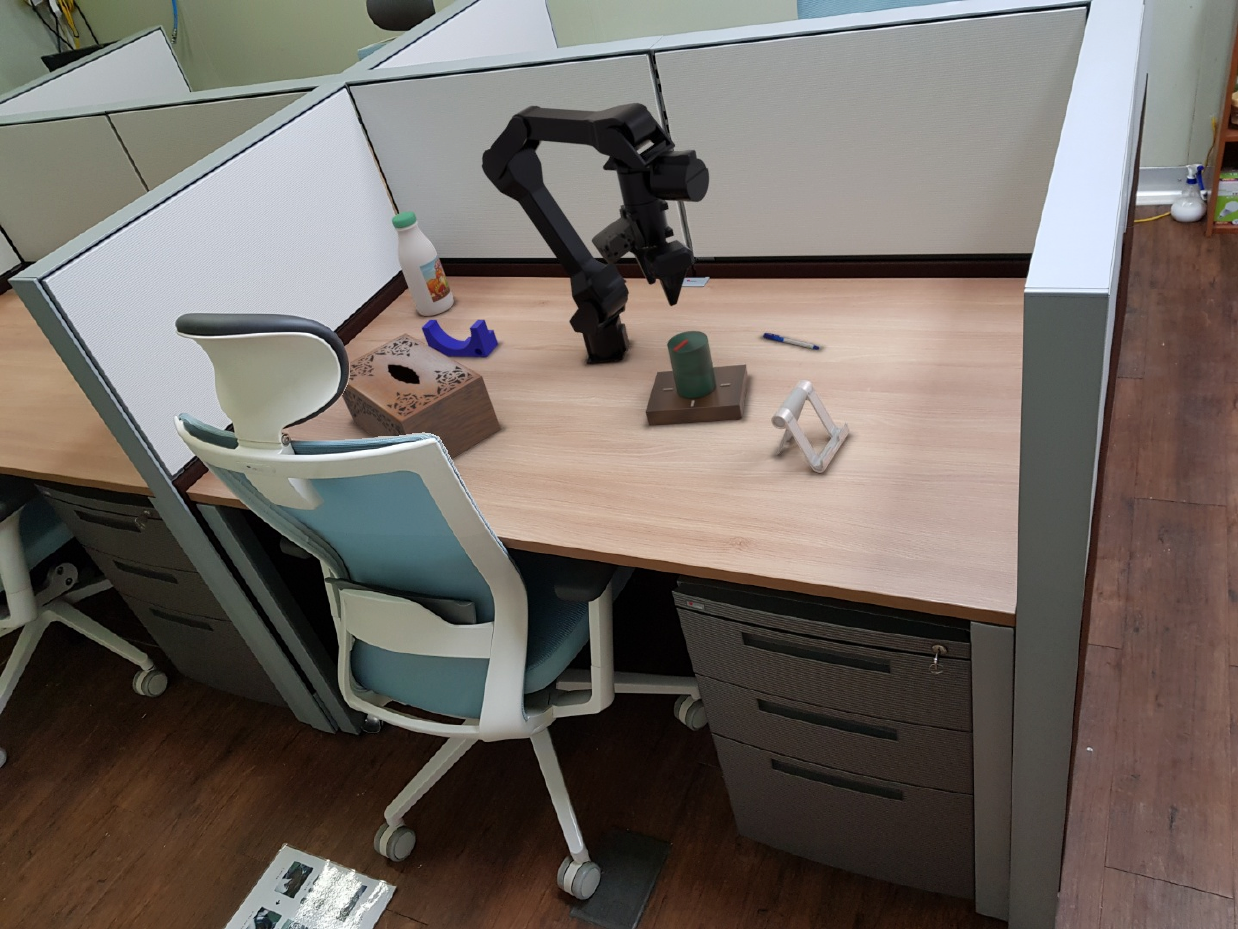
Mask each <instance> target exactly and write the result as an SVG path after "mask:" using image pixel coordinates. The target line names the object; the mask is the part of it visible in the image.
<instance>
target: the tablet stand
mask: <svg viewBox="0 0 1238 929" xmlns="http://www.w3.org/2000/svg"><path fill="white" fill-rule="evenodd" d="M806 401H808V402H809V403H810V404H811V406H812V408H813V410H814V412H815V414H816V415H817V417H818V418H819V420H820V422H821V424H822V425H823V427H824V429H825V431H826V432H827V434H828V436H829V437H830V440H829V441H828V443H827V444H826V446H825V447H824V449H823V450H822V452H821V454H820V455H818V453H816V452H815V450H814V448H813V446H812V445H811V443H810V441H809V440H808V438H807V436H806V434H805V433H804V431H803V429H802V428H801V426H800V424H799V423H798V421H799V420H800V416H801V414H802V411H803V409H804V406H805V403H806ZM770 421H771V424H772V426H773V427H774V428H775V429H778V430H784V433H783V436H782V438H781V441H780V443H779V446H778V449H777V452H776V455H778V456H779V455H780V453H781V452H782V451H783V448H784V446H785V444H786V442H789V441H790V439H791V438H792V437H793V439H794V440H795V443H796V444H797V446H798V447H799V449H800V451H801V453H802V454H803V456H804V458H805V459H806V461H807V463H808V464H809V466H810V468H811V469H812V470H813V471H814V472H815V473H818V474H820V473H821V474H822V473H824V472H825V471H826V469H827V467H828V465H830V463H831V462H832V459H833V458H834V457H835V455H836V454H837V452H838V450H839V449H840V447H841V445H842V444H843V442H845V440H846V438H847V436H848V435H849V433H850V428H849V424H848V423H847V422H844V423H843V425H842V427H840V428H838V426H837V425H836V424H835V422H834V421H833V418H832V417H831V415H830V413H829V412H828V410H827V408H826V407H825V404H824V403H823V401H822V400H821V398H820V396H819V394H818V393H817V391H816V389H815V388H814V386H813V384H812V383H811V382H810V381H809V380H807V379H800V380H798V382H797V383H796V385H795V386H794V387H793V389H792V390H791V391H790V393H789V394H788V395H787V397H786V398H785V400H783V402H782V403H781V404H780V406H779V407H778V409H777V411H775V413H774V414H773V416H772V417H771V419H770Z"/></svg>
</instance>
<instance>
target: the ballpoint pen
mask: <svg viewBox="0 0 1238 929" xmlns="http://www.w3.org/2000/svg"><path fill="white" fill-rule="evenodd" d="M762 337H763V338H764V339H767V340H771V341H776V342H781V343H786V344H790V345H793V346H794V345H795V346H799V347H803V348H807V349H812V350H819V349H820V347H819V345H817V344H816V345H815V344H812V343H807V342H804V341H799V340H794V339H789V338H786V337H782V336H780V335H779V334H775V333H770V332H764V333H763V334H762Z"/></svg>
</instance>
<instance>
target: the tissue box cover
mask: <svg viewBox="0 0 1238 929" xmlns="http://www.w3.org/2000/svg"><path fill="white" fill-rule="evenodd" d="M349 363H350V378H349V382H348V385H347V387H346V389H345V391H344V393H343V395H341V397H342V399H343V401H344V403H345V406H346V408H347V410H348V412H349V414H350V416H351V418H352V421H353V422H354V424H357V425H358V426H359V427H361V428H362V429H363V430H364V431H365V432H367V433H368V434H369V435H370V436H372V437H373V438H375V437H378V436H399V435H406V434H412V433H422V432H425V433H431V434H434V435H436V436H439V437H440V439H441V440H442V443H443V444H444V446H445V447H446V449H447V450H448V454H449V455H450V457H451V458H452V459H454V458H455V457H457V456H459V455H460V454H462V453H463V452H466V451H467V450H468V449H470V448H472V447H474V446H475V445H477V444H479V443H480V442H482V441H484V440H485V439H487V438H489V437H491V436H492V435H493V434H495V433H497V432H498V431H500V430H502V429H501V425H500V422H499V419H498V417H497V415H496V414H497V413H496V410H495V408H494V406H493V403H492V400H491V397H490V393H489V391H488V388H487V386H486V383H485V380H484V378H483V375H481V374H480V373H478V372H476V371H475V370H472V369H471V368H470V367H469V368H468V367H467V366H465V365H464V364H462V363H460V362H458V361H457V360H454V359H453V358H451V357H450V356H446V355H444V354H442V353H440V352H438V351H437V350H435V349H433V348H431V347H430V346H428V344H427V343H424V342H422V341H421V340H419V339H417V338H415V337H413V336H411V335H410V334H408V333H406V332H405V333H403V334H401V335H399V336H397V337H395V338H393V339H392V340H389V341H388V342H385V343H384V344H381V345H380V346H378V347H376V348H374V349H373V350H370V351H368V352H367V353H364V354H363V355H361V356H359V357H356V359H354V360H352V361H349Z"/></svg>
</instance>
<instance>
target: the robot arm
mask: <svg viewBox="0 0 1238 929" xmlns="http://www.w3.org/2000/svg"><path fill="white" fill-rule="evenodd" d="M542 142H550V143H559V144H560V143H561V144H573V145H585V146H589V147H592V148H593V149H594V150H596V151H597V152H598V154H601V155H604V156H607V157H608V159H607V160H606V161H605V163H604V164H603V165H602V169H603V170H604V171H610V172H611V171H613V172H615V173H616V176H617V181H618V185H619V190H620V195H621V199H622V204H621V205H620V208H619V210H618V211H619V214H620V215H619V216H620V217H619V218H618V219H616V220H615V221H612V222H611V223H609V224H608V225H607V226H606V227H604V228H603V229H602V230H600V231H599V232H598V233H597V234H595V235H594V236H593V237H592V239H591V243H592V244H593V246H594V247H595V249H596V250H597V252H598V253H599V254H600V256H601V257H602V259H604V260H605V262H606V263H607V264H605V263H602V262H600V261H598V259H597V260H596V258H595V257H594V256H593V254H592V253H591V251H590V250H589V249H588V247H587V246H586V244H585V242H584V241H583V240H582V238H581V237H580V235H579V233H578V232H577V231H576V229H575V228H574V226H573V225H572V223H571V222H570V220H569V219H568V217H567V216H566V214H565V213H564V212H563V210H562V209H561V207H560V205H559V204H558V202H557V201H556V199H555V198H554V196H553V195H552V194H551V192H550V191H549V189H548V188H547V186H546V184H545V183H544V182H545V181H544V175H543V174H544V173H543V166H542V162H541V159H540V157H539V156H538V153H537V151H538V149H539V147H540V146H541V144H542ZM649 143H652V145H651V146H649V147H647V148H646V149H644V150H643V151H642V152H640V153H639V152H638V151H639V150H641V149H642V148H644V147H645V146H646V145H648V144H649ZM675 148H676V144H675V142H674V141H673V140H672V139H671V137H670V136H669V134H667V132H666V131H665V130H664V128H662V126H661V125H660V124H659V122H658V121H657V120H656V119H655V117H654V116H653V114H652V113H651V111H649V110H648V107H647V106H646V105H645V104H643V103H641V102H640V103H639V102H632V103H626V104H621V105H616V106H612V107H609V108H606V109H602V110H597V111H595V110H579V109H568V108H567V109H565V108H564V109H563V108H549V107H541V106H540V105H539V106H538V105H529V106H527V107H525V108H523V109H522V110H520V111H518V112H517V113H515V114H513V115H512V116H511V119H510V120H509V121H508V123H507V125H506V127H505V129H503V131H502V132H501V133H500V135H499V136H498V137H497V138H496V139H495V141H494V142H493V143H492V144H491V145H490V147H489V148H487V149H486V150H484V152H483V153H482V157H481V162H482V164H481V169H482V171H483V173H484V175H485V177H486V178H487V179H488V180H489V181H490V183H491V184H492V185H493V186H494V187H495V188H496V189H497V190H498V192H499V193H500V194H502V195H504V196H507V197H508V198H511V199H512V200H515V201H516V202H517V203H518V204H519V205H520V206H521V208H522V209H523V211H524V213H525V214H526V216H527V217H528V219H529V220H530V221H531V223H532V224H533V226H534V227H535V228H536V230H537V232H538V233H539V234H540V236H541V237H542V239H543V240H544V242H545V244H546V245H547V246H548V247H549V250H551V252H552V253H553V255H554V256H555V258H556V259H557V261H558V262H559V264H560V265H561V267H562V268H563V269H564V271H565V273H566V274H567V276H568V277H569V281H570V291H571V297H572V300H573V301H574V303H575V305H576V307H577V309H576V310H575V311H574V313H573V315H572V316H571V317H570V319H569V321H568V322H569V325H570V326H571V328H572V330H573V331H574V332H575V333H577V334H582V339H583V342H584V345H585V349H586V353H587V357H586V359H585V363H586V364H588V365H590V364H599V363H600V364H602V363H613V362H622V361H623V360H624V359H625V355H626V353H627V352H628V349H629V346H630V340H629V336H628V332H627V327H626V323H622V319H621V314H622V313H624V312H625V311H626V304H627V303H628V301H629V294H630V292H629V289H628V285H626V283H627V280H626V279H625V278H623V276H622V275H621V274H620V272H619V270H618V268H617V266H616V264H615V263H617V262H618V261H619V260H620V259H622V258H623V257H624V256H625V255H626V254H628V253H631V254H633V255H634V258H635V260H636V262H637V263H638V265H639V268H640V270H641V271H642V274H643V276H644V277H645V280H646V282H647V284H648V285H650V286H652V285H654V284H656V283H657V280H659V282H660V285H661V289H662V290H663V294H664V295H665V298H666V300H667V303H668V305H669V306H670V307H673V306H676V305H677V304H678V303H679V298H680V295H681V292H682V288H683V284H684V281H685V278H686V276H687V274H688V270H689V269H691V267H693V265H694V264H695V258H694V253H693V250H692V249H691V248H690V247H688V246H687V245H686V244H685V243H683V242H682V241H679V240H678V239H675V240H672V241H669V242H668V241H667V239H668V238H671V237H674V236H675V234H674V229H673V228H672V227H671V226H670V225H669V223H668V219H667V218H668V217H667V214H666V211H668V210H669V208H670V207H669V203H668V202H669V201H670V202H671V201H672V202H687V203H688V202H690V203H700V202H701V201H703V200H704V198H705V197H706V195H707V193H708V190H709V184H710V171H709V168H708V167H707V166H706V164H705V161H704V160H702V159H701V158H698V156H697V151H696V150H695V149H686V150H673V149H675ZM667 201H668V202H667Z"/></svg>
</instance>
